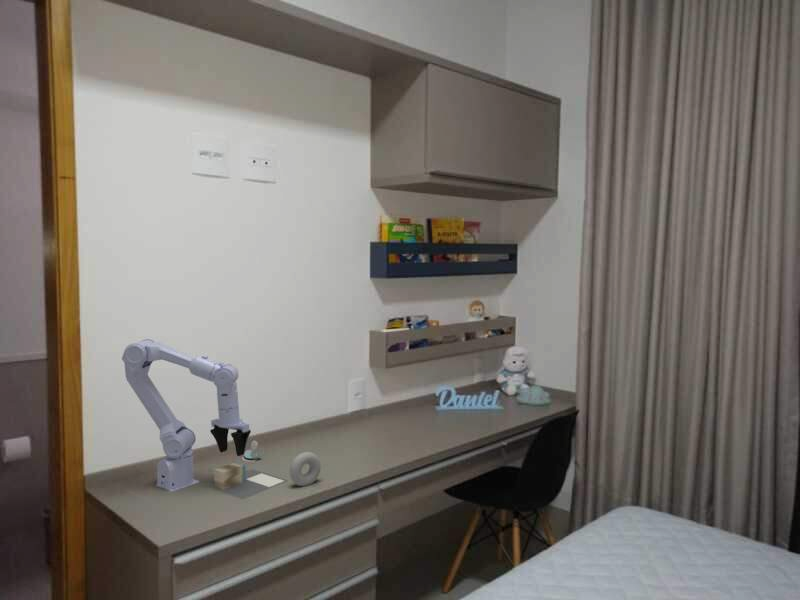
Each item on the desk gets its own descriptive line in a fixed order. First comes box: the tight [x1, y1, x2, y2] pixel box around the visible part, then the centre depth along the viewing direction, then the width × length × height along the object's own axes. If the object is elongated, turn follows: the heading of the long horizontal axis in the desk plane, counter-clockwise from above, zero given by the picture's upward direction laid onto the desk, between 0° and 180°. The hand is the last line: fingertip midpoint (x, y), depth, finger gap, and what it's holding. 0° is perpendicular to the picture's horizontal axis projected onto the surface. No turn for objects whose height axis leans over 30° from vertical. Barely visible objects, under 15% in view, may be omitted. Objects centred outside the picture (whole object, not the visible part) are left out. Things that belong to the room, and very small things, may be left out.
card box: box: [213, 461, 247, 490], centre depth 172 cm, size 8×4×5 cm, turn 145°
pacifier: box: [241, 440, 264, 462], centre depth 194 cm, size 7×6×6 cm
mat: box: [205, 468, 289, 500], centre depth 173 cm, size 17×16×1 cm
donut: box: [289, 451, 322, 487], centre depth 172 cm, size 10×3×10 cm, turn 131°
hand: (232, 453), depth 172 cm, fingers open, 7 cm apart
